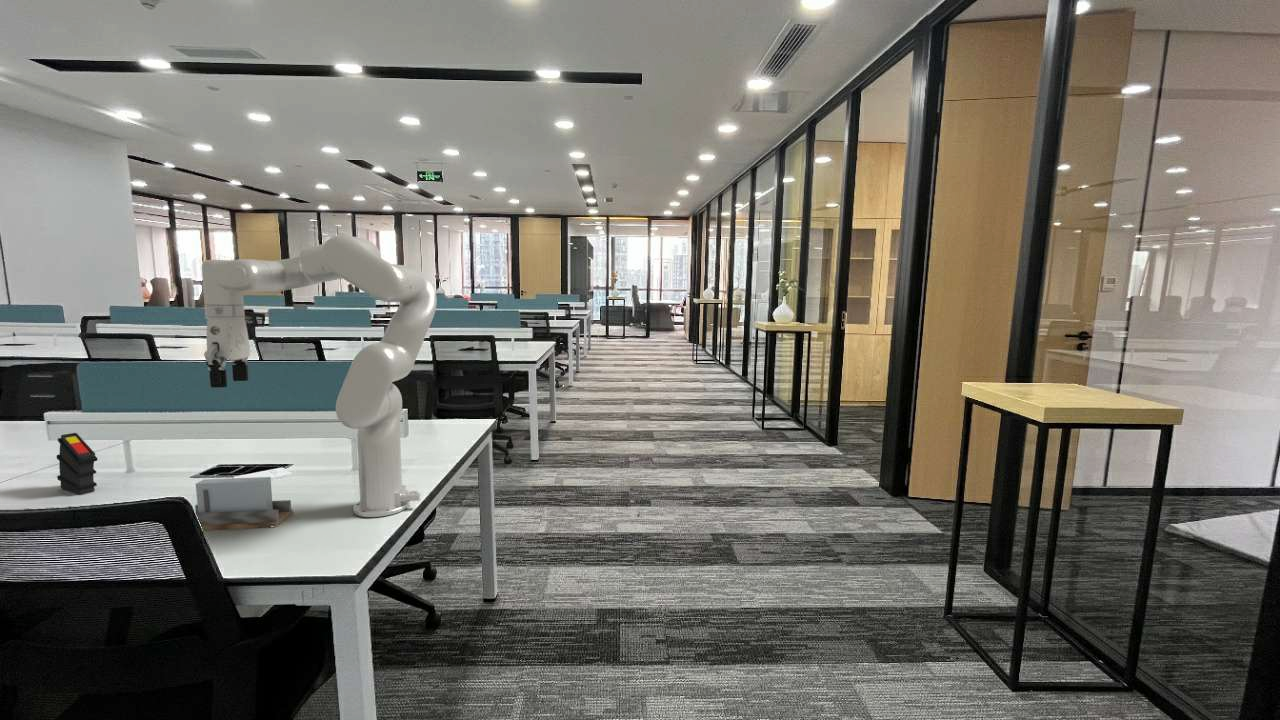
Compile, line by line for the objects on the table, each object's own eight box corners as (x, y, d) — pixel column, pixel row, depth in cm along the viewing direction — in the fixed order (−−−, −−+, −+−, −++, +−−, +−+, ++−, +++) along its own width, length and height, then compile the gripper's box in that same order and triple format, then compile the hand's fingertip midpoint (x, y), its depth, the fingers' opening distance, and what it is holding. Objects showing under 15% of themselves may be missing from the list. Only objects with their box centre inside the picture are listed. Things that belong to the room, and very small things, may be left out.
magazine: (71, 477, 153) (77, 431, 149) (94, 504, 149) (101, 458, 144) (52, 481, 150) (58, 434, 145) (75, 509, 145) (82, 462, 141)
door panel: (273, 514, 131) (270, 476, 130) (265, 519, 127) (263, 481, 126) (207, 517, 129) (203, 479, 127) (197, 523, 125) (194, 484, 124)
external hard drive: (232, 482, 157) (282, 471, 166) (240, 488, 152) (292, 477, 161) (231, 476, 157) (282, 466, 166) (240, 483, 152) (291, 472, 161)
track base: (292, 513, 134) (291, 499, 133) (276, 527, 126) (275, 512, 125) (200, 517, 131) (199, 503, 130) (177, 531, 123) (176, 516, 123)
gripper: (222, 314, 125) (228, 389, 127) (260, 311, 142) (264, 378, 144) (184, 313, 123) (191, 390, 125) (227, 311, 140) (232, 378, 142)
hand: (230, 383), depth 135 cm, fingers open, 9 cm apart
